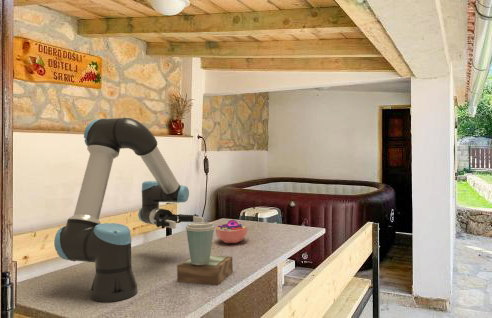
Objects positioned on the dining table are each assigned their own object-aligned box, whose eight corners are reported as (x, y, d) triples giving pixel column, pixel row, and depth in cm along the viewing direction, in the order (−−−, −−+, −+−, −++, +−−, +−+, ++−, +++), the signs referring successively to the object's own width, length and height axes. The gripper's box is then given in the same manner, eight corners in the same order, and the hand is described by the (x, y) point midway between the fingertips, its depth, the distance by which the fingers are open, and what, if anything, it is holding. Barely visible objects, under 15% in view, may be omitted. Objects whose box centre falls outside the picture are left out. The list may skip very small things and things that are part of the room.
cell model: (210, 246, 202) (209, 224, 202) (222, 237, 221) (221, 217, 221) (242, 247, 198) (242, 224, 198) (251, 238, 217) (251, 218, 217)
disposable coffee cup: (181, 262, 151) (180, 222, 150) (206, 257, 157) (205, 219, 156) (194, 268, 142) (193, 226, 142) (220, 263, 148) (220, 222, 148)
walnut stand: (218, 284, 144) (217, 267, 143) (177, 281, 148) (177, 264, 148) (232, 271, 159) (232, 255, 159) (195, 269, 164) (195, 253, 163)
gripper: (185, 222, 185) (214, 228, 170) (135, 229, 168) (162, 236, 153) (185, 206, 185) (213, 210, 170) (135, 212, 168) (161, 217, 153)
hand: (189, 223), depth 161 cm, fingers open, 13 cm apart
